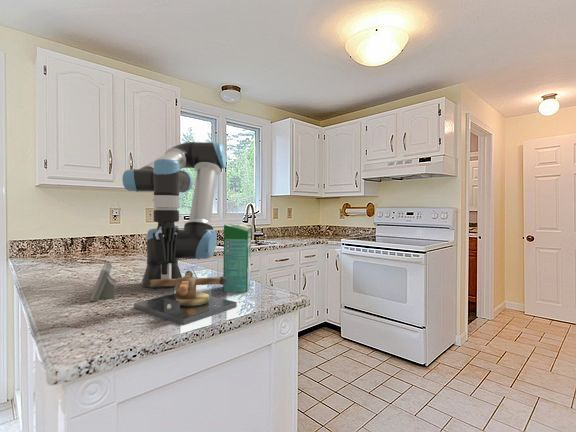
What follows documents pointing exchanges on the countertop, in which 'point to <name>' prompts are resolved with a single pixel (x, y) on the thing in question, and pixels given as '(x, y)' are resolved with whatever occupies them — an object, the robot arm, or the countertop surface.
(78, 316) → the countertop surface
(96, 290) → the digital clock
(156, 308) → the stand
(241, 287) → the milk carton
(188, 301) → the capstan
